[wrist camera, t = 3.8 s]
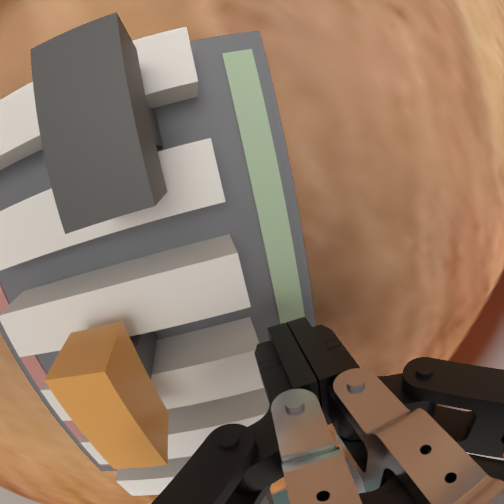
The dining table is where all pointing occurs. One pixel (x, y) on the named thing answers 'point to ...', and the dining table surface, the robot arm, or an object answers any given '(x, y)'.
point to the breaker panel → (151, 220)
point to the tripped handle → (113, 394)
